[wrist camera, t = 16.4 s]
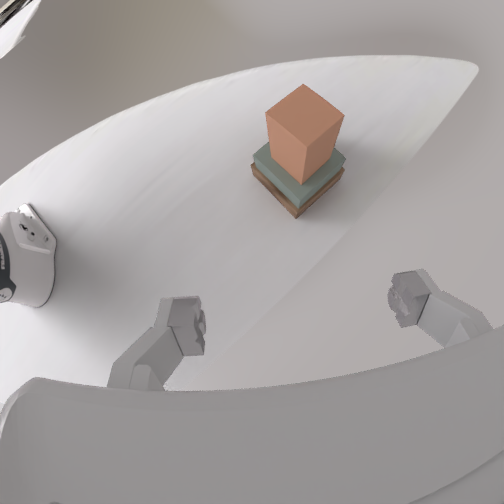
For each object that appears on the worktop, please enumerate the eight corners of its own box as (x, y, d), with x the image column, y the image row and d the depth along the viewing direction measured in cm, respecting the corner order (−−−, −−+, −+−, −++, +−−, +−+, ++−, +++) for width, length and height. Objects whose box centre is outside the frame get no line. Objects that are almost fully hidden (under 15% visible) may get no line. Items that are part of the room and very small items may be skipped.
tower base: (253, 175, 41) (250, 165, 37) (297, 139, 41) (298, 126, 37) (295, 219, 40) (297, 212, 36) (339, 179, 40) (344, 169, 36)
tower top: (256, 167, 37) (252, 155, 33) (297, 131, 37) (299, 117, 33) (298, 208, 36) (300, 200, 32) (340, 170, 36) (345, 158, 32)
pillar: (271, 157, 33) (265, 112, 23) (299, 132, 33) (303, 83, 23) (301, 185, 32) (307, 147, 22) (329, 158, 32) (344, 115, 22)
